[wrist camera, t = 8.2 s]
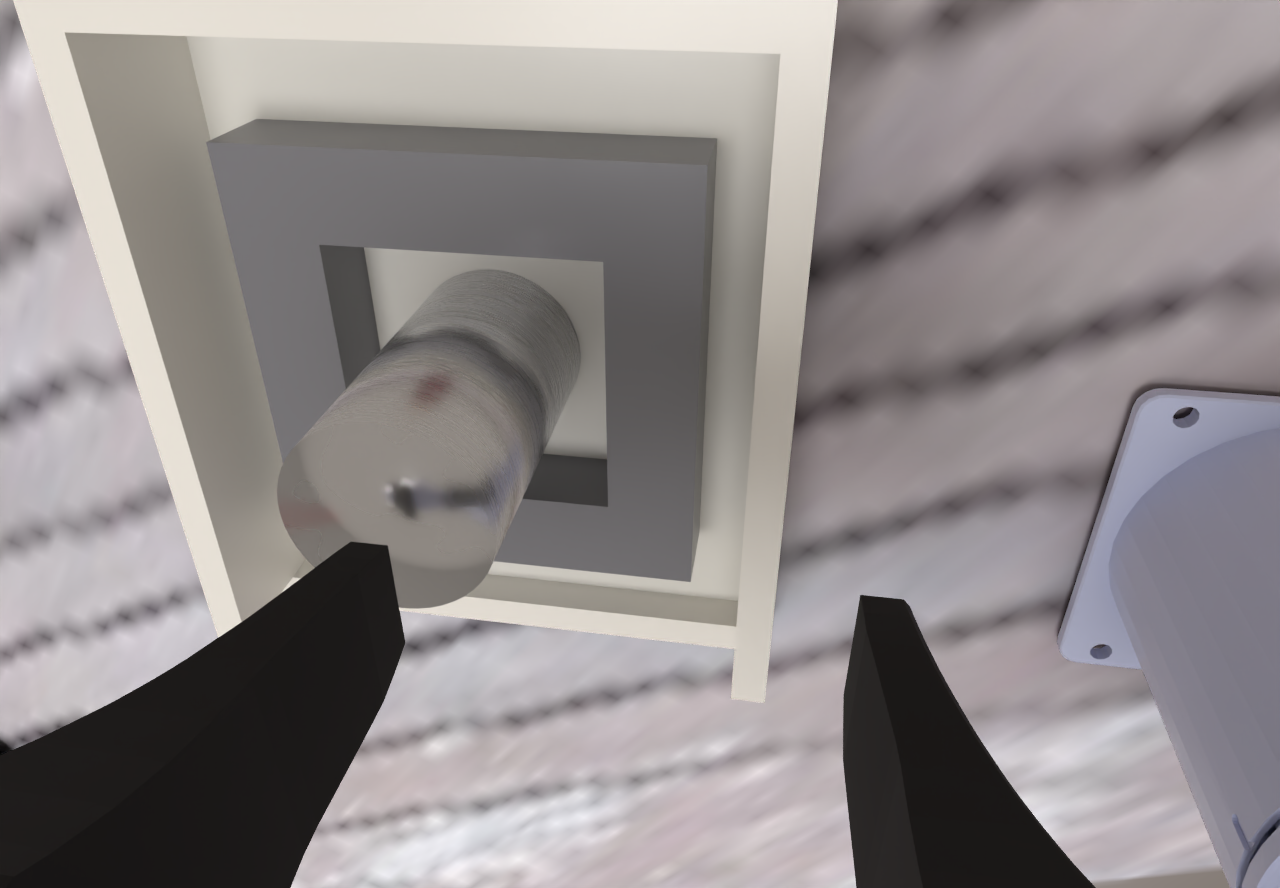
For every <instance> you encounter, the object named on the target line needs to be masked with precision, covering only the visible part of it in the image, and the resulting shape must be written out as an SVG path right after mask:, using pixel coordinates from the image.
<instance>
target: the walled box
mask: <svg viewBox="0 0 1280 888" xmlns="http://www.w3.org/2000/svg"><path fill="white" fill-rule="evenodd" d="M13 1H14V4H15V7H16V10H17V13H18V17H19V20H20V23H21V26H22V29H23V32H24V35H25V38H26V41H27V45H28V48H29V51H30V54H31V57H32V60H33V63H34V66H35V69H36V73H37V76H38V79H39V82H40V85H41V88H42V91H43V94H44V97H45V100H46V104H47V107H48V110H49V113H50V116H51V119H52V122H53V125H54V128H55V132H56V135H57V138H58V141H59V144H60V147H61V150H62V153H63V156H64V159H65V163H66V166H67V169H68V172H69V175H70V178H71V181H72V184H73V187H74V191H75V194H76V197H77V200H78V203H79V206H80V209H81V212H82V215H83V218H84V222H85V225H86V228H87V231H88V234H89V237H90V240H91V243H92V246H93V250H94V253H95V256H96V259H97V262H98V265H99V268H100V271H101V274H102V278H103V281H104V284H105V287H106V290H107V293H108V296H109V299H110V302H111V305H112V309H113V312H114V315H115V318H116V321H117V324H118V327H119V330H120V333H121V337H122V340H123V343H124V346H125V349H126V352H127V355H128V358H129V361H130V364H131V368H132V371H133V374H134V377H135V380H136V383H137V386H138V389H139V392H140V396H141V399H142V402H143V405H144V408H145V411H146V414H147V417H148V420H149V424H150V427H151V430H152V433H153V436H154V439H155V442H156V445H157V448H158V451H159V455H160V458H161V461H162V464H163V467H164V470H165V473H166V476H167V479H168V483H169V486H170V489H171V492H172V495H173V498H174V501H175V504H176V507H177V510H178V514H179V517H180V520H181V523H182V526H183V529H184V532H185V535H186V538H187V542H188V545H189V548H190V551H191V554H192V557H193V560H194V563H195V566H196V570H197V573H198V576H199V579H200V582H201V585H202V588H203V591H204V594H205V597H206V601H207V604H208V607H209V610H210V613H211V616H212V619H213V622H214V625H215V629H216V632H217V635H218V637H220V636H222V635H223V634H225V633H226V632H228V631H229V630H231V629H232V628H234V627H235V626H237V625H238V624H240V623H241V622H242V621H244V620H245V619H247V618H248V617H249V616H251V615H252V614H253V613H255V612H256V611H258V610H259V609H260V608H262V607H263V606H264V605H266V604H267V603H268V602H270V601H271V600H273V599H274V598H275V597H277V596H278V595H279V594H281V593H282V592H283V591H285V590H286V589H287V588H289V587H290V586H291V585H293V584H294V583H295V582H297V581H298V580H299V579H301V578H302V577H303V576H305V575H306V574H307V573H309V572H310V571H311V570H313V569H314V568H315V567H314V566H313V565H312V564H311V563H310V562H309V561H308V560H307V559H306V558H305V557H304V556H303V555H302V553H301V552H300V551H299V550H298V549H297V547H296V545H295V544H294V542H293V541H292V539H291V538H290V536H289V534H288V532H287V530H286V528H285V526H284V523H283V521H282V518H281V515H280V511H279V506H278V501H277V484H278V477H279V473H280V470H281V467H282V465H283V463H284V461H285V459H286V457H287V456H288V454H289V453H290V452H291V450H292V449H293V448H294V447H295V445H296V444H297V443H298V442H299V441H300V440H301V439H302V438H303V437H304V435H305V434H306V433H307V432H308V431H309V430H310V429H311V428H312V426H313V425H314V424H315V423H316V422H317V421H318V420H319V419H320V418H321V416H322V415H323V414H324V413H325V412H326V411H327V410H328V409H329V407H330V406H331V405H332V404H333V403H334V402H335V401H336V400H337V399H338V397H339V396H340V395H341V394H342V393H343V392H344V391H345V390H346V388H347V387H348V386H349V385H350V384H351V383H352V382H353V381H354V380H355V378H356V377H357V376H358V375H359V374H360V373H361V372H362V371H363V370H364V368H365V367H366V366H367V365H368V364H369V363H370V362H371V361H372V359H373V358H374V357H375V356H376V355H377V354H378V353H379V352H380V351H381V349H382V348H383V347H384V346H385V345H386V344H387V343H388V342H389V340H390V339H391V338H392V337H393V336H394V335H395V334H396V333H397V332H398V330H399V329H400V328H401V327H402V326H403V325H404V324H405V323H406V321H407V320H408V319H409V318H410V317H411V316H412V315H413V314H414V313H415V311H416V310H417V309H418V308H419V307H420V306H421V305H422V304H423V302H424V301H425V300H426V299H427V298H428V297H429V296H430V295H431V294H432V292H433V291H434V290H435V289H436V288H438V287H439V286H440V285H441V284H442V283H444V282H445V281H446V280H448V279H450V278H452V277H454V276H456V275H458V274H461V273H464V272H467V271H473V270H480V269H492V270H501V271H506V272H510V273H514V274H516V275H519V276H522V277H524V278H526V279H528V280H530V281H532V282H534V283H536V284H537V285H539V286H540V287H542V288H543V289H544V290H546V291H547V292H548V293H549V294H551V295H552V296H553V297H554V298H555V299H556V300H557V301H558V302H559V303H560V305H561V306H562V307H563V309H564V310H565V311H566V313H567V314H568V316H569V318H570V319H571V321H572V323H573V325H574V328H575V330H576V333H577V336H578V340H579V344H580V352H581V363H580V370H579V374H578V377H577V381H576V383H575V385H574V387H573V389H572V392H571V394H570V396H569V398H568V400H567V402H566V405H565V407H564V409H563V411H562V413H561V416H560V418H559V420H558V422H557V424H556V426H555V429H554V431H553V433H552V435H551V437H550V440H549V442H548V444H547V446H546V448H545V450H544V453H543V455H542V457H541V459H540V461H539V463H538V466H537V468H536V470H535V472H534V474H533V477H532V479H531V481H530V483H529V485H528V487H527V490H526V492H525V494H524V496H523V498H522V500H521V503H520V505H519V507H518V509H517V511H516V514H515V516H514V518H513V520H512V522H511V524H510V527H509V529H508V531H507V533H506V535H505V538H504V540H503V542H502V544H501V546H500V548H499V551H498V553H497V555H496V557H495V559H494V561H493V564H492V566H491V568H490V570H489V572H488V574H487V575H486V577H485V578H484V579H483V581H482V582H481V583H480V584H479V585H478V586H477V587H476V588H475V589H474V590H473V591H471V592H470V593H468V594H467V595H466V596H464V597H462V598H460V599H458V600H456V601H454V602H451V603H448V604H445V605H442V606H437V607H431V608H420V609H413V608H399V611H407V612H415V613H424V614H433V615H441V616H450V617H459V618H468V619H476V620H485V621H494V622H503V623H511V624H520V625H529V626H537V627H546V628H555V629H564V630H572V631H581V632H590V633H598V634H607V635H616V636H625V637H633V638H642V639H651V640H659V641H668V642H677V643H686V644H694V645H703V646H712V647H720V648H729V649H735V651H734V664H733V677H732V690H731V699H735V700H744V701H752V702H760V703H765V694H766V684H767V674H768V665H769V655H770V646H771V636H772V627H773V617H774V607H775V598H776V588H777V579H778V569H779V560H780V550H781V540H782V531H783V521H784V512H785V502H786V493H787V483H788V473H789V464H790V454H791V445H792V435H793V426H794V416H795V406H796V397H797V387H798V378H799V368H800V359H801V349H802V339H803V330H804V320H805V311H806V301H807V292H808V282H809V272H810V263H811V253H812V244H813V234H814V225H815V215H816V205H817V196H818V186H819V177H820V167H821V158H822V148H823V139H824V129H825V119H826V110H827V100H828V91H829V81H830V72H831V62H832V52H833V43H834V33H835V24H836V14H837V5H838V0H13Z"/></svg>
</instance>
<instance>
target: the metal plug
mask: <svg viewBox="0 0 1280 888" xmlns="http://www.w3.org/2000/svg"><path fill="white" fill-rule="evenodd" d="M580 363H581V352H580V344H579V340H578V336H577V333H576V330H575V328H574V325H573V323H572V321H571V319H570V318H569V316H568V314H567V313H566V311H565V310H564V309H563V307H562V306H561V305H560V303H559V302H558V301H557V300H556V299H555V298H554V297H553V296H552V295H551V294H549V293H548V292H547V291H546V290H544V289H543V288H542V287H540V286H539V285H537V284H536V283H534V282H532V281H530V280H528V279H526V278H524V277H522V276H519V275H516V274H514V273H510V272H506V271H501V270H492V269H480V270H473V271H467V272H464V273H461V274H458V275H456V276H454V277H452V278H450V279H448V280H446V281H445V282H444V283H442V284H441V285H440V286H439V287H438V288H436V289H435V290H434V291H433V292H432V294H431V295H430V296H429V297H428V298H427V299H426V300H425V301H424V302H423V304H422V305H421V306H420V307H419V308H418V309H417V310H416V311H415V313H414V314H413V315H412V316H411V317H410V318H409V319H408V320H407V321H406V323H405V324H404V325H403V326H402V327H401V328H400V329H399V330H398V332H397V333H396V334H395V335H394V336H393V337H392V338H391V339H390V340H389V342H388V343H387V344H386V345H385V346H384V347H383V348H382V349H381V351H380V352H379V353H378V354H377V355H376V356H375V357H374V358H373V359H372V361H371V362H370V363H369V364H368V365H367V366H366V367H365V368H364V370H363V371H362V372H361V373H360V374H359V375H358V376H357V377H356V378H355V380H354V381H353V382H352V383H351V384H350V385H349V386H348V387H347V388H346V390H345V391H344V392H343V393H342V394H341V395H340V396H339V397H338V399H337V400H336V401H335V402H334V403H333V404H332V405H331V406H330V407H329V409H328V410H327V411H326V412H325V413H324V414H323V415H322V416H321V418H320V419H319V420H318V421H317V422H316V423H315V424H314V425H313V426H312V428H311V429H310V430H309V431H308V432H307V433H306V434H305V435H304V437H303V438H302V439H301V440H300V441H299V442H298V443H297V444H296V445H295V447H294V448H293V449H292V450H291V452H290V453H289V454H288V456H287V457H286V459H285V461H284V463H283V465H282V467H281V470H280V473H279V477H278V484H277V501H278V506H279V511H280V515H281V518H282V521H283V523H284V526H285V528H286V530H287V532H288V534H289V536H290V538H291V539H292V541H293V542H294V544H295V545H296V547H297V549H298V550H299V551H300V552H301V553H302V555H303V556H304V557H305V558H306V559H307V560H308V561H309V562H310V563H311V564H312V565H313V566H314V567H317V566H318V565H319V564H321V563H322V562H323V561H325V560H326V559H327V558H329V557H330V556H331V555H333V554H334V553H335V552H337V551H338V550H339V549H341V548H342V547H344V546H345V545H347V544H348V543H349V542H360V543H370V544H379V545H388V549H389V555H390V560H391V566H392V572H393V577H394V583H395V588H396V594H397V599H398V605H399V608H413V609H420V608H431V607H437V606H442V605H445V604H448V603H451V602H454V601H456V600H458V599H460V598H462V597H464V596H466V595H467V594H468V593H470V592H471V591H473V590H474V589H475V588H476V587H477V586H478V585H479V584H480V583H481V582H482V581H483V579H484V578H485V577H486V575H487V574H488V572H489V570H490V568H491V566H492V564H493V561H494V559H495V557H496V555H497V553H498V551H499V548H500V546H501V544H502V542H503V540H504V538H505V535H506V533H507V531H508V529H509V527H510V524H511V522H512V520H513V518H514V516H515V514H516V511H517V509H518V507H519V505H520V503H521V500H522V498H523V496H524V494H525V492H526V490H527V487H528V485H529V483H530V481H531V479H532V477H533V474H534V472H535V470H536V468H537V466H538V463H539V461H540V459H541V457H542V455H543V453H544V450H545V448H546V446H547V444H548V442H549V440H550V437H551V435H552V433H553V431H554V429H555V426H556V424H557V422H558V420H559V418H560V416H561V413H562V411H563V409H564V407H565V405H566V402H567V400H568V398H569V396H570V394H571V392H572V389H573V387H574V385H575V383H576V381H577V377H578V374H579V370H580Z"/></svg>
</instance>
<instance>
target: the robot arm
mask: <svg viewBox="0 0 1280 888" xmlns="http://www.w3.org/2000/svg"><path fill="white" fill-rule="evenodd" d="M1185 407H1192V408H1193V410H1192V412H1191V413H1190V415H1188V416H1186V417H1185V418H1181V419H1175V418H1173V416H1174V414H1175V413H1176V412H1177V411H1178V410H1180V409H1182V408H1185ZM1057 644H1058V647H1059V650H1060V653H1061V654H1062V656H1063V657H1064V658H1065V659H1067V660H1069V661H1073V662H1078V663H1087V664H1096V665H1105V666H1114V667H1123V668H1132V669H1141V670H1142V671H1143V673H1144V675H1145V678H1146V680H1147V683H1148V685H1149V688H1150V690H1151V693H1152V695H1153V698H1154V700H1155V703H1156V705H1157V708H1158V710H1159V713H1160V715H1161V718H1162V720H1163V723H1164V725H1165V728H1166V730H1167V732H1168V735H1169V737H1170V740H1171V742H1172V745H1173V747H1174V750H1175V752H1176V755H1177V757H1178V760H1179V762H1180V765H1181V767H1182V770H1183V772H1184V775H1185V777H1186V780H1187V782H1188V784H1189V787H1190V789H1191V792H1192V794H1193V797H1194V799H1195V802H1196V804H1197V807H1198V809H1199V812H1200V814H1201V817H1202V819H1203V822H1204V824H1205V827H1206V829H1207V832H1208V834H1209V837H1210V839H1211V841H1212V844H1213V846H1214V849H1215V851H1216V854H1217V856H1218V859H1219V861H1220V864H1221V866H1222V869H1223V871H1224V874H1225V876H1226V879H1227V881H1228V884H1229V886H1230V888H1280V397H1279V396H1266V395H1252V394H1238V393H1225V392H1211V391H1197V390H1184V389H1170V388H1158V389H1152V390H1150V391H1147V392H1145V393H1144V394H1142V395H1141V396H1140V397H1139V398H1138V399H1137V400H1136V402H1135V404H1134V405H1133V408H1132V411H1131V414H1130V417H1129V420H1128V423H1127V426H1126V429H1125V432H1124V435H1123V438H1122V442H1121V445H1120V448H1119V451H1118V454H1117V457H1116V460H1115V463H1114V466H1113V469H1112V472H1111V475H1110V478H1109V481H1108V485H1107V488H1106V491H1105V494H1104V497H1103V500H1102V503H1101V506H1100V509H1099V512H1098V515H1097V518H1096V521H1095V525H1094V528H1093V531H1092V534H1091V537H1090V540H1089V543H1088V546H1087V549H1086V552H1085V555H1084V558H1083V561H1082V564H1081V568H1080V571H1079V574H1078V577H1077V580H1076V583H1075V586H1074V589H1073V592H1072V595H1071V598H1070V601H1069V604H1068V608H1067V611H1066V614H1065V617H1064V620H1063V623H1062V626H1061V629H1060V632H1059V635H1058V640H1057ZM1099 644H1105V646H1104V647H1102V648H1095V649H1094V648H1093V647H1094V646H1096V645H1099ZM404 645H405V639H404V633H403V627H402V622H401V616H400V611H399V605H398V599H397V594H396V588H395V583H394V577H393V572H392V566H391V560H390V555H389V549H388V545H379V544H370V543H360V542H349V543H348V544H347V545H345V546H344V547H342V548H341V549H339V550H338V551H337V552H335V553H334V554H333V555H331V556H330V557H329V558H327V559H326V560H325V561H323V562H322V563H321V564H319V565H318V566H317V567H315V568H314V569H313V570H311V571H310V572H309V573H307V574H306V575H305V576H303V577H302V578H301V579H299V580H298V581H297V582H295V583H294V584H293V585H291V586H290V587H289V588H287V589H286V590H285V591H283V592H282V593H281V594H279V595H278V596H277V597H275V598H274V599H273V600H271V601H270V602H268V603H267V604H266V605H264V606H263V607H262V608H260V609H259V610H258V611H256V612H255V613H253V614H252V615H251V616H249V617H248V618H247V619H245V620H244V621H242V622H241V623H240V624H238V625H237V626H235V627H234V628H232V629H231V630H229V631H228V632H226V633H225V634H223V635H222V636H220V637H219V638H217V639H216V640H214V641H213V642H211V643H210V644H208V645H207V646H205V647H204V648H202V649H201V650H199V651H198V652H196V653H195V654H193V655H192V656H190V657H189V658H187V659H186V660H184V661H183V662H181V663H180V664H178V665H176V666H175V667H173V668H172V669H170V670H168V671H167V672H165V673H163V674H162V675H160V676H158V677H157V678H155V679H153V680H151V681H150V682H148V683H146V684H144V685H143V686H141V687H139V688H137V689H136V690H134V691H132V692H130V693H128V694H127V695H125V696H123V697H121V698H120V699H118V700H116V701H114V702H112V703H110V704H108V705H106V706H104V707H102V708H100V709H98V710H96V711H94V712H92V713H90V714H88V715H86V716H84V717H82V718H80V719H78V720H76V721H74V722H72V723H70V724H68V725H66V726H64V727H62V728H60V729H58V730H56V731H54V732H52V733H50V734H48V735H46V736H43V737H41V738H39V739H37V740H35V741H32V742H30V743H28V744H26V745H23V746H21V747H19V748H16V749H14V750H12V751H9V752H7V753H5V754H3V755H0V888H290V887H291V885H292V882H293V880H294V877H295V875H296V872H297V870H298V868H299V865H300V863H301V860H302V858H303V855H304V853H305V851H306V849H307V847H308V845H309V843H310V841H311V839H312V837H313V834H314V832H315V830H316V828H317V826H318V824H319V822H320V820H321V819H322V817H323V815H324V813H325V811H326V809H327V807H328V806H329V804H330V802H331V800H332V798H333V796H334V794H335V792H336V791H337V789H338V787H339V785H340V783H341V781H342V779H343V777H344V776H345V774H346V772H347V770H348V768H349V766H350V764H351V763H352V761H353V759H354V757H355V755H356V753H357V751H358V749H359V748H360V746H361V744H362V742H363V740H364V738H365V736H366V734H367V732H368V730H369V729H370V727H371V725H372V723H373V721H374V719H375V717H376V715H377V713H378V711H379V709H380V707H381V705H382V703H383V701H384V699H385V696H386V694H387V691H388V689H389V686H390V684H391V681H392V678H393V676H394V673H395V670H396V667H397V665H398V662H399V659H400V656H401V653H402V650H403V648H404ZM843 763H844V773H845V783H846V792H847V802H848V812H849V821H850V830H851V840H852V849H853V858H854V868H855V877H856V886H857V888H1095V886H1094V885H1093V884H1092V883H1091V882H1090V881H1089V880H1088V879H1087V878H1086V877H1085V876H1084V875H1083V874H1082V872H1081V871H1080V870H1079V869H1078V868H1077V867H1076V866H1075V865H1074V864H1073V863H1072V861H1071V860H1070V859H1069V858H1068V857H1067V856H1066V854H1065V853H1064V852H1063V851H1062V850H1061V848H1060V847H1059V846H1058V845H1057V844H1056V842H1055V841H1054V840H1053V839H1052V838H1051V836H1050V835H1049V834H1048V833H1047V832H1046V830H1045V829H1044V828H1043V827H1042V825H1041V824H1040V823H1039V821H1038V820H1037V819H1036V818H1035V816H1034V815H1033V814H1032V812H1031V811H1030V810H1029V809H1028V807H1027V806H1026V805H1025V803H1024V802H1023V801H1022V800H1021V798H1020V797H1019V795H1018V794H1017V793H1016V791H1015V790H1014V789H1013V787H1012V786H1011V784H1010V783H1009V782H1008V780H1007V779H1006V777H1005V776H1004V775H1003V773H1002V772H1001V770H1000V769H999V767H998V766H997V764H996V763H995V761H994V760H993V758H992V757H991V755H990V754H989V752H988V751H987V749H986V748H985V746H984V745H983V743H982V742H981V740H980V739H979V737H978V735H977V734H976V732H975V731H974V729H973V727H972V726H971V724H970V723H969V721H968V719H967V718H966V716H965V714H964V712H963V711H962V709H961V707H960V705H959V704H958V702H957V700H956V699H955V697H954V695H953V693H952V692H951V690H950V688H949V687H948V685H947V683H946V681H945V679H944V677H943V676H942V674H941V672H940V670H939V668H938V666H937V664H936V662H935V660H934V658H933V656H932V654H931V652H930V650H929V648H928V646H927V644H926V642H925V640H924V638H923V636H922V634H921V631H920V629H919V627H918V625H917V622H916V620H915V618H914V615H913V613H912V610H911V608H910V606H909V605H908V604H907V603H906V602H905V601H904V600H902V599H893V598H883V597H874V596H864V595H860V601H859V607H858V613H857V619H856V625H855V631H854V637H853V643H852V649H851V655H850V661H849V667H848V673H847V679H846V685H845V691H844V716H843Z"/></svg>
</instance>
